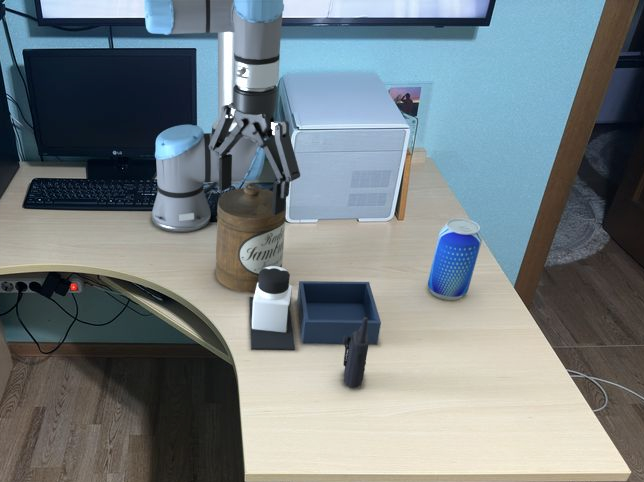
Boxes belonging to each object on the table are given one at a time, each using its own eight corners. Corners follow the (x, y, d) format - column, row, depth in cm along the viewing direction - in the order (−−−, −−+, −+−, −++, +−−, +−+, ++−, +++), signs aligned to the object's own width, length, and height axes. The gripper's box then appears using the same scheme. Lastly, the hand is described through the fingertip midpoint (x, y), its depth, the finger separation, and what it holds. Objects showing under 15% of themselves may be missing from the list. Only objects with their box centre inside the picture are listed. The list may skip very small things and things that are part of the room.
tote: (297, 301, 144) (299, 281, 141) (365, 302, 144) (369, 281, 140) (302, 343, 133) (304, 321, 130) (377, 344, 132) (381, 322, 129)
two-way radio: (362, 390, 122) (374, 324, 112) (337, 388, 122) (347, 321, 113) (361, 371, 126) (373, 305, 117) (337, 368, 127) (347, 303, 117)
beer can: (424, 298, 145) (440, 231, 135) (428, 278, 151) (443, 213, 141) (465, 305, 142) (484, 238, 132) (467, 284, 148) (485, 219, 138)
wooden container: (253, 300, 145) (258, 207, 131) (202, 276, 153) (202, 186, 139) (294, 273, 153) (302, 183, 140) (244, 251, 161) (247, 164, 148)
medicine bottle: (286, 333, 135) (291, 283, 127) (251, 329, 136) (253, 279, 129) (289, 313, 140) (294, 263, 133) (256, 309, 142) (258, 260, 134)
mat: (249, 298, 146) (249, 296, 145) (288, 298, 145) (288, 297, 145) (251, 349, 132) (251, 348, 131) (294, 350, 131) (294, 348, 131)
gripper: (188, 73, 118) (191, 185, 131) (298, 109, 104) (288, 230, 117) (218, 64, 122) (218, 173, 135) (328, 97, 108) (315, 215, 121)
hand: (250, 200), depth 126 cm, fingers open, 13 cm apart
